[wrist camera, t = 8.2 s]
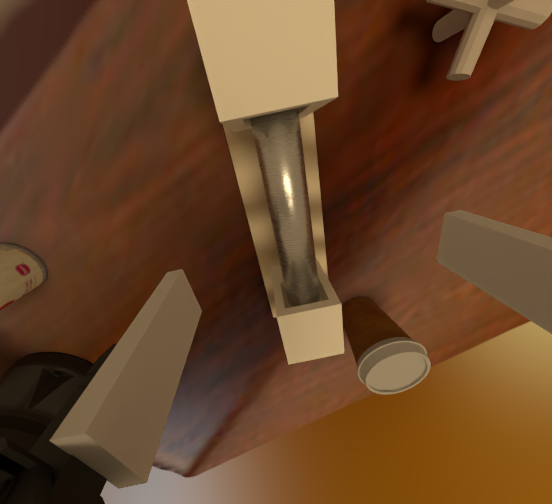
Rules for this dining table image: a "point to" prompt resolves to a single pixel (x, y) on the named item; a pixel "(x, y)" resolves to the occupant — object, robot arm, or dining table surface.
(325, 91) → the socket
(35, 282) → the aerosol can
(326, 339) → the sleeve
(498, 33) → the dining table surface
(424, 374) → the disposable coffee cup
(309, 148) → the board
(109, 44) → the dining table surface
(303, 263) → the tube
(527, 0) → the pipe connector
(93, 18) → the dining table surface
